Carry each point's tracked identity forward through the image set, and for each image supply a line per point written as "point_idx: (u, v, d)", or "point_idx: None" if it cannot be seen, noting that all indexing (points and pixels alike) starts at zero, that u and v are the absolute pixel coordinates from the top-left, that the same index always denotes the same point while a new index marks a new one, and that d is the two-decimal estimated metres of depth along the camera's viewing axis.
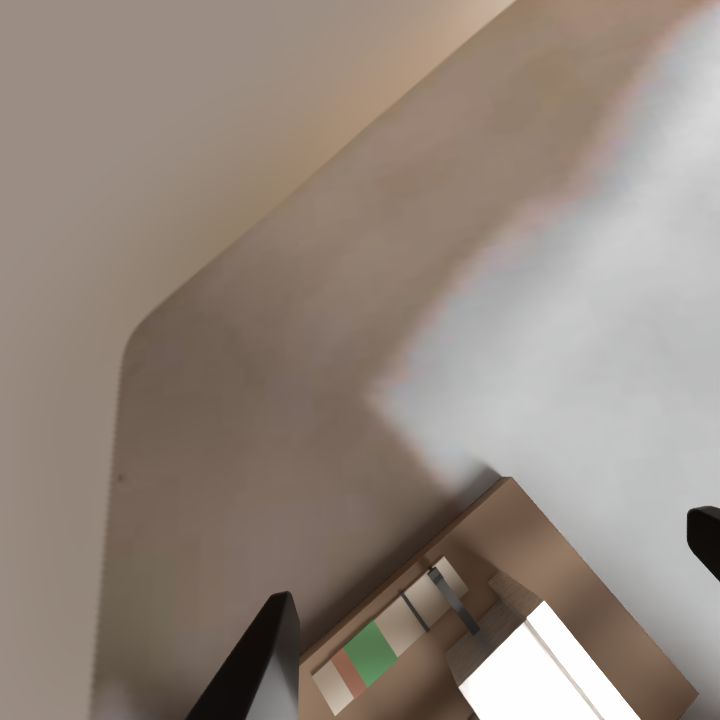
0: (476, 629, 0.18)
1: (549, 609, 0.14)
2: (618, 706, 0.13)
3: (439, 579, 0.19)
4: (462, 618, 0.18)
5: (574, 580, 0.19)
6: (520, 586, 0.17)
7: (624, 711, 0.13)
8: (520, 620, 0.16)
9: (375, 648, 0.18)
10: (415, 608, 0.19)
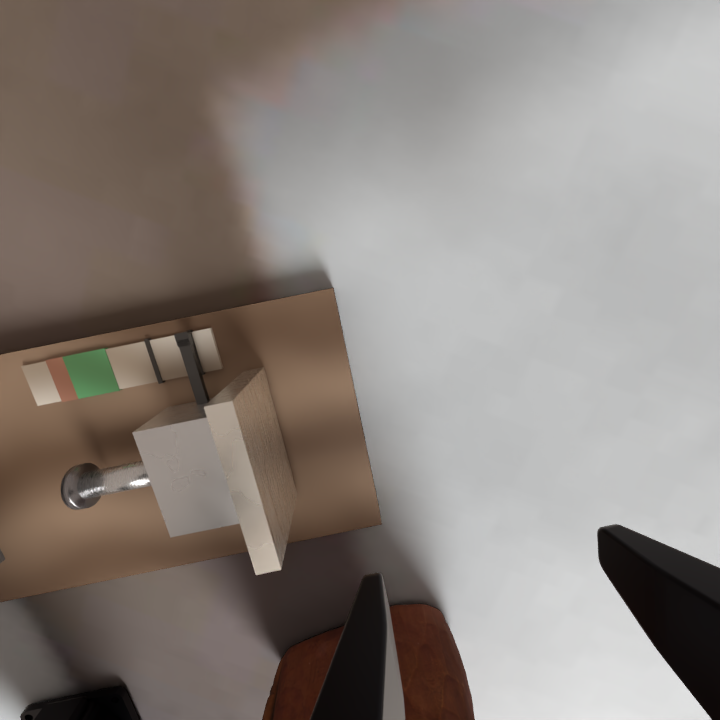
0: (202, 401, 0.16)
1: (232, 410, 0.12)
2: (253, 506, 0.13)
3: (185, 343, 0.16)
4: (193, 386, 0.16)
5: (334, 408, 0.18)
6: (246, 383, 0.14)
7: (256, 511, 0.13)
8: None
9: (98, 372, 0.17)
10: (155, 358, 0.17)
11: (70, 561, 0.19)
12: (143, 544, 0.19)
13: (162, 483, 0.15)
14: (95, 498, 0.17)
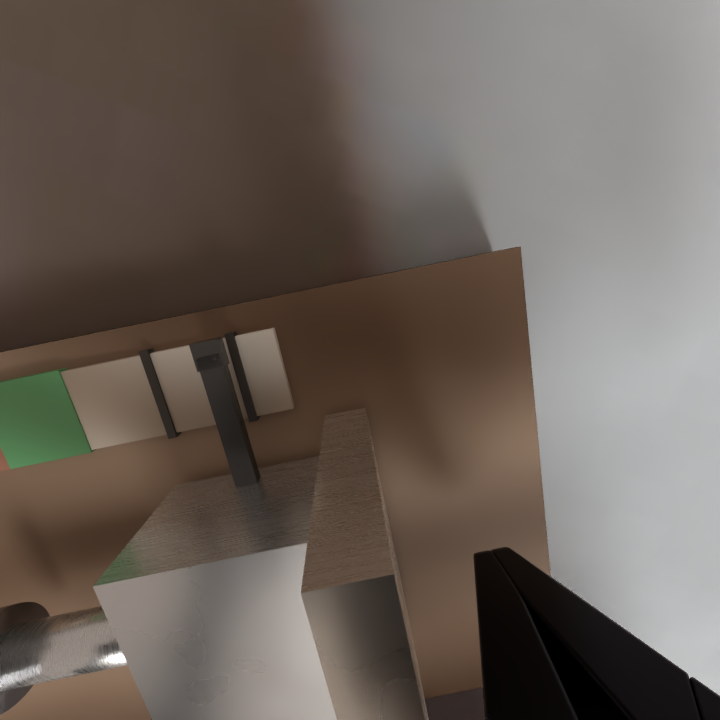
0: (247, 481, 0.08)
1: (393, 603, 0.04)
2: None
3: (212, 364, 0.07)
4: (228, 452, 0.08)
5: (499, 479, 0.10)
6: (369, 468, 0.06)
7: None
8: None
9: (47, 418, 0.08)
10: (162, 390, 0.08)
11: None
12: (141, 713, 0.11)
13: (166, 690, 0.06)
14: None
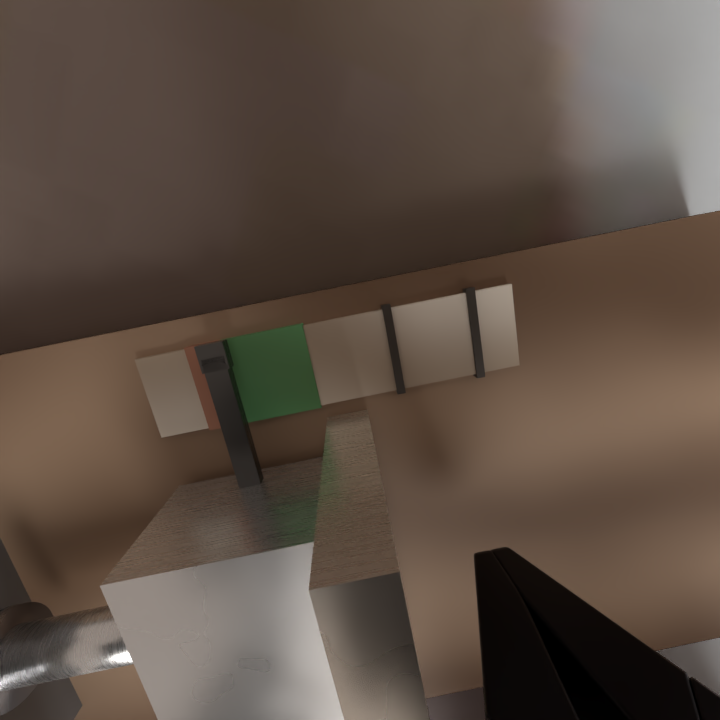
0: (251, 481, 0.08)
1: (399, 600, 0.04)
2: None
3: (217, 366, 0.08)
4: (232, 453, 0.08)
5: (700, 439, 0.10)
6: (372, 468, 0.06)
7: None
8: None
9: (285, 372, 0.08)
10: (398, 345, 0.08)
11: None
12: None
13: (171, 689, 0.07)
14: None
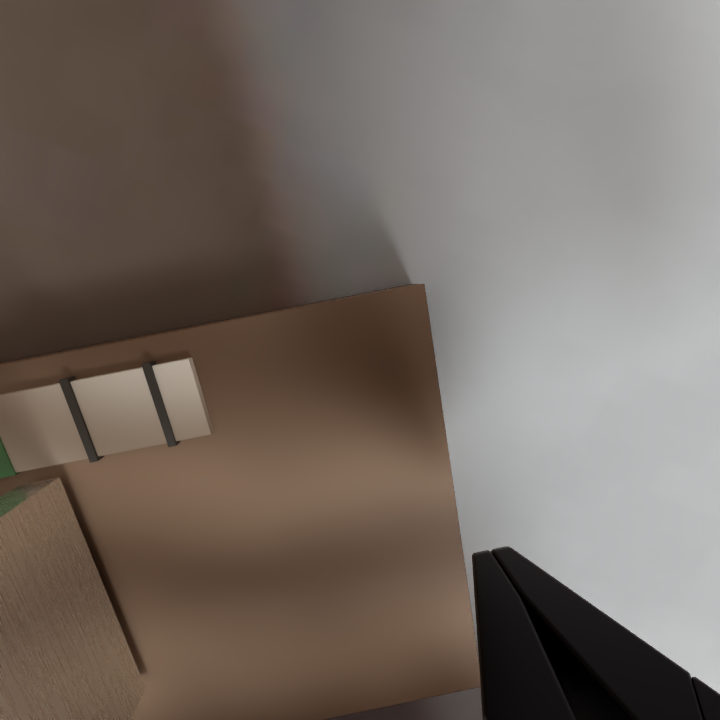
0: None
1: None
2: None
3: None
4: None
5: (414, 501, 0.10)
6: None
7: None
8: None
9: None
10: (83, 416, 0.09)
11: None
12: None
13: None
14: None
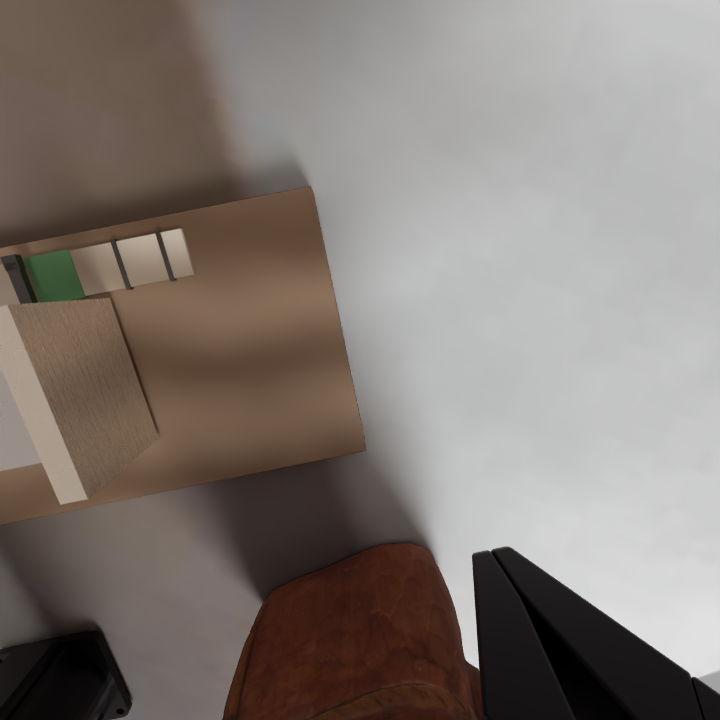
0: None
1: (8, 315, 0.11)
2: (48, 426, 0.12)
3: (13, 267, 0.15)
4: None
5: (314, 321, 0.17)
6: (58, 301, 0.13)
7: (51, 432, 0.12)
8: None
9: (61, 276, 0.16)
10: (123, 262, 0.16)
11: (37, 488, 0.18)
12: None
13: None
14: None
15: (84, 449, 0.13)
